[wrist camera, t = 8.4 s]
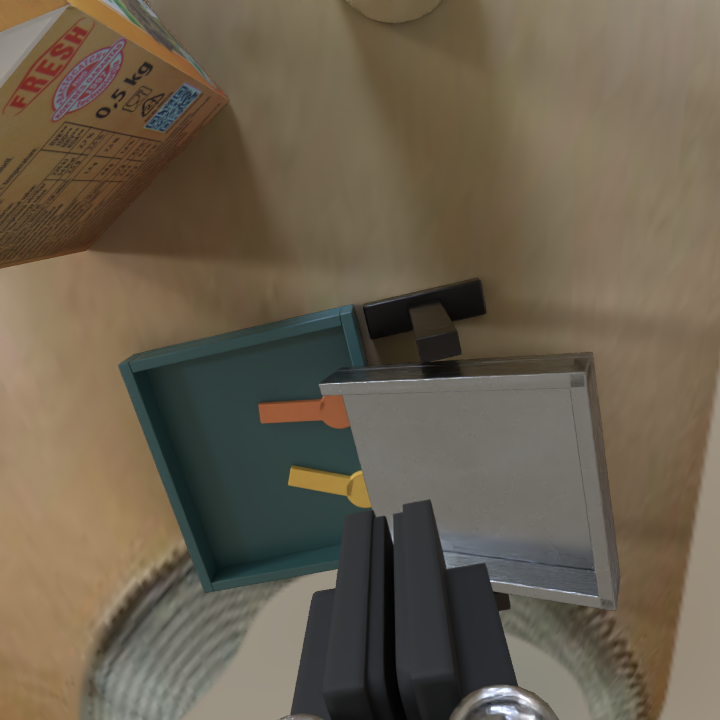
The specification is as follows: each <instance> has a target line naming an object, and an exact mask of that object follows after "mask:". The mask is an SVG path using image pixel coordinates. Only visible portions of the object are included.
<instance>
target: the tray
mask: <svg viewBox="0 0 720 720" xmlns="http://www.w3.org/2000/svg"><path fill="white" fill-rule="evenodd" d="M118 366H119V369H120V372H121V374H122V377H123V380H124V382H125V385H126V387H127V390H128V393H129V395H130V398H131V401H132V403H133V406H134V408H135V411H136V414H137V416H138V419H139V422H140V424H141V427H142V430H143V432H144V435H145V437H146V440H147V443H148V445H149V448H150V451H151V453H152V456H153V458H154V461H155V464H156V466H157V469H158V472H159V474H160V477H161V480H162V482H163V485H164V487H165V490H166V493H167V495H168V498H169V501H170V503H171V506H172V508H173V511H174V514H175V516H176V519H177V522H178V524H179V527H180V530H181V532H182V535H183V537H184V540H185V543H186V545H187V548H188V551H189V553H190V556H191V558H192V561H193V564H194V566H195V569H196V572H197V574H198V577H199V580H200V582H201V585H202V587H203V590H204V593H208V592H213V591H220V590H225V589H230V588H236V587H241V586H247V585H252V584H258V583H263V582H269V581H274V580H280V579H285V578H291V577H296V576H302V575H307V574H313V573H318V572H323V571H329V570H334V569H338V565H339V557H340V549H341V541H342V534H343V526H344V518H345V515H348V514H354V513H359V512H364V511H370V510H372V507H370V508H362V507H358V506H356V505H354V504H353V503H352V502H351V501H350V500H349V499H348V497H347V496H344V495H339V494H333V493H328V492H322V491H317V490H311V489H306V488H300V487H295V486H289V485H288V482H289V476H290V470H291V466H292V465H294V466H299V467H305V468H310V469H316V470H321V471H326V472H332V473H337V474H343V475H348V476H351V475H352V474H354V473H355V472H358V471H361V470H362V469H361V465H360V462H359V458H358V454H357V450H356V446H355V443H354V439H353V435H352V431H351V427H350V426H349V427H347V428H342V429H337V428H333V427H330V426H329V425H327V424H326V423H325V422H324V421H323V420H317V421H298V422H280V423H261V420H260V413H259V403H260V402H277V401H294V400H312V399H322V397H323V396H322V395H321V391H320V388H319V383H320V382H322V381H323V380H324V379H326V378H327V377H328V376H330V375H331V374H332V373H334V372H335V371H336V370H338V369H339V368H341V367H354V366H368V363H367V359H366V354H365V350H364V346H363V342H362V338H361V334H360V330H359V326H358V322H357V318H356V314H355V310H354V305H353V304H351V305H347V306H342V307H338V308H334V309H329V310H325V311H321V312H316V313H312V314H308V315H303V316H299V317H295V318H290V319H286V320H281V321H277V322H273V323H268V324H264V325H260V326H255V327H251V328H247V329H242V330H238V331H233V332H229V333H225V334H220V335H216V336H212V337H207V338H203V339H199V340H194V341H190V342H185V343H181V344H177V345H172V346H168V347H164V348H159V349H155V350H151V351H146V352H142V353H137V354H134V355H132V356H131V357H129V358H128V359H126V360H125V361H123V362H122V363H120V364H119V365H118Z"/></svg>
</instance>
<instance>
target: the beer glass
mask: <svg viewBox="0 0 720 720" xmlns="http://www.w3.org/2000/svg"><path fill="white" fill-rule="evenodd" d="M346 1H347V2H348V3H349V4H350V5H351V6H352V7H353V8H354V9H356V10H357V11H358V12H360V13H361V14H363V15H365V16H367V17H369V18H371V19H373V20H376V21H380V22H385V23H403V22H408V21H412V20H415V19H417V18H420V17H422V16H424V15H425V14H427V13H429V12H430V11H432V10H433V9H434V8H435V7H437V6H438V5H439V4H440V3H441V2H442V1H443V0H346Z"/></svg>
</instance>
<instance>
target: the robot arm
mask: <svg viewBox="0 0 720 720" xmlns="http://www.w3.org/2000/svg"><path fill="white" fill-rule="evenodd" d="M393 539H394V545H393V541H392V537H391V533H390V529H389V526H388V522H387V519H386V516H379V517H376V515H375V512H374V511H373V510H370V511H364V512H359V513H354V514H348V515H345V518H344V526H343V534H342V541H341V549H340V557H339V565H338V573H337V580H336V588H334V589H329V590H323V591H317V592H315V593H314V594H313V597H312V600H311V606H310V610H309V616H308V621H307V627H306V632H305V638H304V643H303V649H302V654H301V660H300V665H299V671H298V676H297V682H296V687H295V693H294V698H293V704H292V709H291V715H289V716H285V717H283V718H281V719H278V720H559V719H558V717H557V716H556V714H555V713H554V712H553V710H552V709H551V707H550V706H549V705H548V703H546V702H545V701H544V700H542V699H541V698H540V697H539V696H537V695H536V694H535V693H533V692H531V691H528V690H526V689H523V688H521V687H519V686H518V684H517V680H516V676H515V672H514V669H513V665H512V661H511V657H510V654H509V650H508V646H507V643H506V638H505V635H504V631H503V627H502V623H501V619H500V616H499V612H498V608H497V604H496V601H495V597H494V593H493V589H492V585H491V582H490V578H489V574H488V570H487V567H486V563H480V564H474V565H468V566H462V567H456V568H451V569H447V567H446V563H445V559H444V554H443V550H442V546H441V541H440V537H439V533H438V529H437V524H436V520H435V516H434V511H433V507H432V503H431V500H430V499H429V500H423V501H418V502H412V503H407V504H403V512H401V513H395V514H393Z"/></svg>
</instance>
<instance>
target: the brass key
mask: <svg viewBox="0 0 720 720" xmlns="http://www.w3.org/2000/svg"><path fill="white" fill-rule="evenodd" d="M288 485H289V486H295V487H300V488H306V489H311V490H317V491H322V492H328V493H333V494H339V495H344V496H347V497H348V499H349V500H350V501H351V502H352V503H353V504H354V505H356V506H358V507H362V508H370V507H371V503H370V500H369V496H368V492H367V488H366V484H365V481H364V477H363V473H362V470H361V471H358V472H355V473H354V474H352V475H351V476H348V475H343V474H337V473H332V472H326V471H321V470H316V469H310V468H305V467H299V466H294V465H292V466H291V470H290V476H289V482H288Z"/></svg>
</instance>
